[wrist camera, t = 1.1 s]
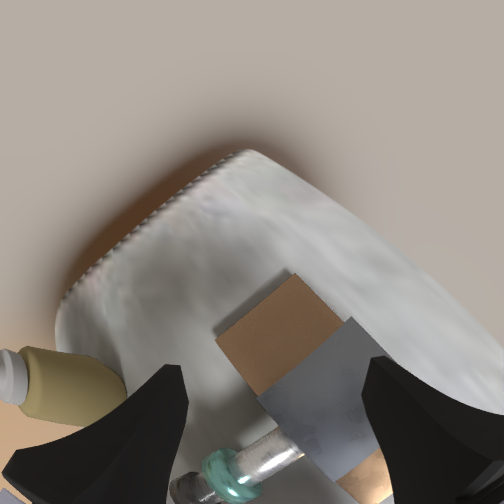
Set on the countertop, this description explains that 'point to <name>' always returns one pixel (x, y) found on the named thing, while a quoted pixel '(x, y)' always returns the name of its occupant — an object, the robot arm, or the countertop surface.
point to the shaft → (236, 471)
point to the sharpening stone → (313, 383)
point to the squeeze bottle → (59, 386)
